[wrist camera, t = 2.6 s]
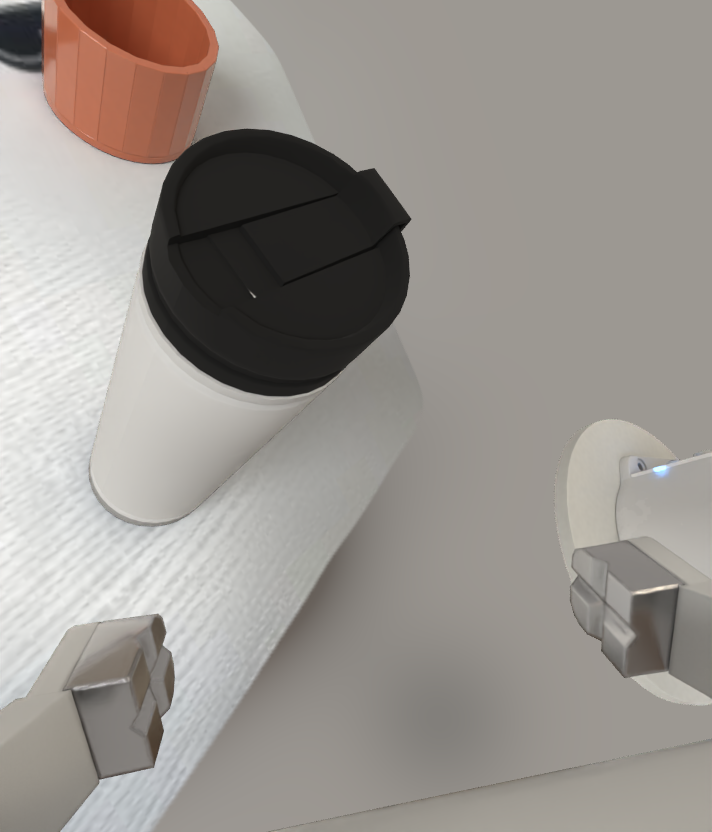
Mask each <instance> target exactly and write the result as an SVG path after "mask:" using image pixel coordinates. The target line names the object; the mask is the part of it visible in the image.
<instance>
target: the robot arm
mask: <svg viewBox="0 0 712 832" xmlns="http://www.w3.org/2000/svg"><path fill="white" fill-rule="evenodd" d="M619 469H620V480H621V483H620V488H619V492H618V495H617V500H616V524H617V531H618V536H619V540H620V541H619V542H613V543H607V544H601V545H595V546H589V547H583V548H577V549H575V550H574V552H573V555H572V563H571V567H572V569H573V570H574V571H575V572H576V574H577V575H578V576H577V577H576V579H575V580H574V581H573V583H572V584H571V586H570V602H571V606H572V609H573V613H574V616H575V617H576V619H577V621H578V623H579V625H580V626H581V627H582V628H583V630H584V631H585V632H586V633H587V634H588V635H590V636H592V637H594V638H596V639H598V640H600V641H602V649H601V651H602V652H603V654H604V655H605V656H606V657H607V658H608V659H609V661H610V662H611V663H612V664H613V665H614V666H615V668H616V669H617V670H618V671H619V672H620V673H621V675H622V676H623V677H624V678H628V677H634V676H640V675H647V674H653V673H659V672H666V671H669V672H668V674H670V675H672V676H674V677H675V678H677V679H679V680H680V681H682V682H684V683H686V684H687V685H689V686H691V687H692V688H694V689H696V690H698V691H699V692H701V693H703V694H704V695H706V696H708V697H710V698H711V699H712V449H710V450H705V451H701V452H698V453H695V454H694V455H693V457H692V458H688V459H685V460H670V459H661V458H652V457H642V456H633V455H631V456H626V457H622V458H621V459H620V462H619ZM165 635H166V629H165V625H164V622H163V618H162V617H161V616H160V615H159V614H153V615H145V616H138V617H131V618H123V619H116V620H108V621H103V622H95V623H88V624H82V625H76V626H73V627H72V628H70V629H68V630H67V632H66V633H65V635H64V637H63V638H62V640H61V641H60V643H59V645H58V646H57V648H56V649H55V651H54V653H53V654H52V656H51V657H50V659H49V661H48V662H47V664H46V665H45V667H44V669H43V670H42V672H41V673H40V675H39V677H38V678H37V680H36V681H35V683H34V685H33V686H32V688H31V690H30V691H29V693H28V694H27V696H26V697H25V698H20V699H15V700H14V701H13V702H11V703H10V704H9V705H7V706H6V707H5V708H3V709H2V710H1V711H0V832H60V831H61V830H62V828H63V827H64V826H65V825H66V823H67V822H68V821H69V820H70V819H71V817H72V816H73V815H74V814H75V812H76V811H77V810H78V809H79V807H80V806H81V805H82V804H83V803H84V801H85V800H86V799H87V798H88V796H89V795H90V794H91V793H92V792H93V790H94V789H95V788H96V787H97V785H98V784H99V780H100V779H104V778H109V777H113V776H118V775H122V774H127V773H131V772H136V771H141V770H145V769H150V768H154V765H155V761H156V758H157V754H158V750H159V747H160V743H161V740H162V736H163V732H164V730H163V726H162V721H161V717H162V716H163V715H164V714H165V713H166V712H167V711H168V710H169V709H170V706H171V702H172V698H173V693H174V679H175V675H174V663H173V659H172V654H171V652H170V651H169V650H167V649H166V648H165V647H164V646H162V644H163V641H164V638H165ZM269 832H712V739H708V740H703V741H699V742H693V743H689V744H684V745H679V746H674V747H670V748H665V749H660V750H655V751H650V752H646V753H641V754H636V755H631V756H627V757H622V758H617V759H612V760H608V761H603V762H598V763H593V764H589V765H584V766H579V767H574V768H569V769H565V770H560V771H555V772H550V773H545V774H541V775H536V776H531V777H526V778H521V779H517V780H512V781H507V782H502V783H498V784H493V785H488V786H483V787H478V788H473V789H469V790H464V791H459V792H455V793H449V794H445V795H440V796H435V797H430V798H426V799H421V800H416V801H411V802H406V803H401V804H397V805H392V806H387V807H383V808H378V809H373V810H368V811H364V812H359V813H354V814H350V815H345V816H340V817H336V818H330V819H326V820H321V821H316V822H311V823H307V824H302V825H297V826H293V827H288V828H284V829H279V830H273V831H269Z"/></svg>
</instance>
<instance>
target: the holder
mask: <svg viewBox="0 0 712 832" xmlns="http://www.w3.org/2000/svg"><path fill="white" fill-rule="evenodd" d="M218 50H219V46H218V42H217V38H216V35H215V31H214V29H213V28H212V26H211V25H210V23H209V21H208V20H207V18H206V16H205V15H204V13H203V12H202V11H201V10H200V9H199V8H198V6H197V5H196V4H195V3H194V2H193V1H192V0H42V76H43V90H44V94H45V97H46V99H47V102H48V104H49V105H50V107H51V109H52V110H53V112H54V113H55V114H56V116H57V117H58V118H59V119H60V120H61V122H62V123H63V124H64V125H65V126H66V127H67V128H69V129H70V130H71V131H72V132H73V133H74V134H76V135H77V136H78V137H80V138H81V139H82V140H84V141H86V142H87V143H89V144H90V145H92V146H94V147H96V148H98V149H100V150H101V151H103V152H106V153H108V154H111V155H113V156H116V157H119V158H122V159H125V160H129V161H133V162H140V163H151V164H154V163H164V162H169V161H172V160H175V159H177V158H178V157H179V156H180V155H181V154H182V153H183V152H184V151H185V150H186V149H187V148H189V147H190V145H191V143H192V141H193V138H194V135H195V132H196V128H197V125H198V121H199V118H200V115H201V111H202V108H203V104H204V101H205V98H206V94H207V91H208V88H209V84H210V81H211V77H212V74H213V71H214V67H215V64H216V60H217V55H218Z"/></svg>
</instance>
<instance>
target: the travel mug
mask: <svg viewBox="0 0 712 832" xmlns="http://www.w3.org/2000/svg"><path fill="white" fill-rule="evenodd" d="M410 220H411V218H410V216H409V215H408V214H407V212H406V211H405V210H404V208H403V207H402V205H401V204H400V203H399V201H398V200H397V198H396V197H395V196H394V194H393V193H392V192H391V190H390V189H389V187H388V186H387V185H386V183H385V182H384V181H383V179H382V178H381V177H380V175H379V174H378V173H377V171H376V170H375V169H374V168H373V169H368V170H364V171H360V172H356V171H355V170H354V169H353V168H352V167H351V166H349V165H348V164H347V163H345V162H344V161H342V160H341V159H340V158H338V157H337V156H335V155H334V154H332V153H330V152H328V151H326V150H325V149H323V148H321V147H319V146H317V145H315V144H313V143H311V142H308V141H306V140H303V139H300V138H298V137H295V136H292V135H288V134H284V133H280V132H275V131H271V130H259V129H240V130H231V131H224V132H221V133H218V134H215V135H212V136H209V137H206V138H203V139H202V140H200V141H198V142H197V143H195V144H194V145H192V146H190V147H189V148H187V149H186V150H185V151H184V152H183V153H182V154H181V155H180V156H179V157H178V159H177V160H176V161H175V162H174V163H173V164H172V166H171V168H170V170H169V172H168V174H167V176H166V178H165V180H164V183H163V186H162V190H161V194H160V198H159V201H158V205H157V209H156V213H155V216H154V220H153V224H152V229H151V235H150V237H149V239H148V243H147V245H146V247H145V249H144V251H143V253H142V256H141V260H140V266H139V271H138V273H137V276H136V280H135V284H134V288H133V292H132V296H131V300H130V304H129V308H128V311H127V315H126V319H125V323H124V327H123V331H122V335H121V339H120V343H119V347H118V351H117V355H116V359H115V363H114V367H113V370H112V374H111V378H110V382H109V386H108V390H107V394H106V398H105V402H104V406H103V410H102V414H101V418H100V422H99V426H98V429H97V433H96V437H95V441H94V445H93V449H92V453H91V457H90V463H89V480H90V483H91V487H92V490H93V492H94V494H95V496H96V498H97V499H98V501H99V502H100V503H101V504H102V506H103V507H104V508H105V509H106V510H107V511H109V512H110V513H111V514H113V515H114V516H115V517H117V518H119V519H121V520H123V521H125V522H128V523H131V524H135V525H139V526H152V527H153V526H161V525H167V524H170V523H173V522H176V521H178V520H180V519H182V518H184V517H186V516H187V515H189V514H190V513H191V512H192V511H194V510H195V509H196V508H197V507H198V506H199V505H200V504H201V503H202V502H203V501H205V500H206V499H207V498H208V497H209V496H210V495H211V494H212V493H213V492H214V491H215V490H217V489H218V488H219V487H220V486H221V485H222V484H223V483H224V482H225V481H226V480H227V479H228V478H230V477H231V476H232V475H233V474H234V473H235V472H236V471H237V470H238V469H239V468H240V467H241V466H242V465H244V464H245V463H246V462H247V461H248V460H249V459H250V458H251V457H252V456H253V455H254V454H255V453H257V452H258V451H259V450H260V449H261V448H262V447H263V446H264V445H265V444H266V443H267V442H268V441H270V440H271V439H272V438H273V437H274V436H275V435H276V434H277V433H278V432H279V431H280V430H281V429H283V428H284V427H285V426H286V425H287V424H288V423H289V422H290V421H291V420H292V419H293V418H294V417H295V416H297V415H298V414H299V413H300V412H301V411H302V410H303V409H304V408H305V407H306V406H307V405H308V404H310V403H311V402H312V401H313V400H314V399H315V398H316V397H317V396H318V395H319V394H320V393H321V392H323V391H324V390H325V388H326V387H327V386H328V385H330V384H331V383H332V382H333V381H334V380H335V379H337V378H338V376H339V375H340V374H341V372H342V371H343V370H344V368H346V366H347V365H348V364H349V363H350V362H351V361H353V360H354V359H355V358H356V357H357V356H358V355H359V354H361V353H362V352H363V351H364V350H365V349H366V348H367V347H368V346H369V345H370V344H371V343H372V342H373V341H374V340H376V339H377V338H378V337H379V336H380V335H381V334H382V333H383V332H384V331H385V330H386V329H387V328H388V327H389V326H390V325H391V324H392V322H393V321H394V319H395V318H396V317H397V315H398V314H399V313H400V311H401V308H402V305H403V303H404V301H405V298H406V296H407V290H408V283H409V277H410V272H409V256H408V252H407V248H406V244H405V241H404V238H403V236H402V233H401V231H402V230H403V229H404V228H405V226H406V225H407V224H408V223H409V222H410Z"/></svg>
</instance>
